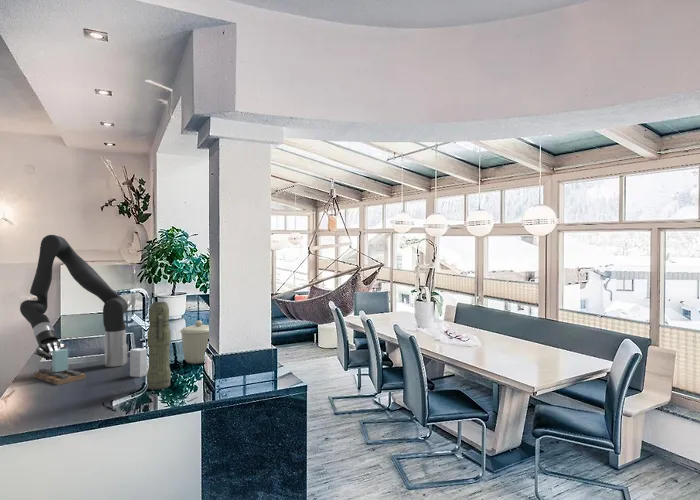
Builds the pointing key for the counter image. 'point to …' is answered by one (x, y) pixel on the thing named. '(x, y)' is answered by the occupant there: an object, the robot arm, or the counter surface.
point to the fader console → (58, 376)
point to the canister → (195, 342)
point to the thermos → (159, 346)
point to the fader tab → (60, 360)
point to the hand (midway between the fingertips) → (58, 364)
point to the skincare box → (138, 362)
